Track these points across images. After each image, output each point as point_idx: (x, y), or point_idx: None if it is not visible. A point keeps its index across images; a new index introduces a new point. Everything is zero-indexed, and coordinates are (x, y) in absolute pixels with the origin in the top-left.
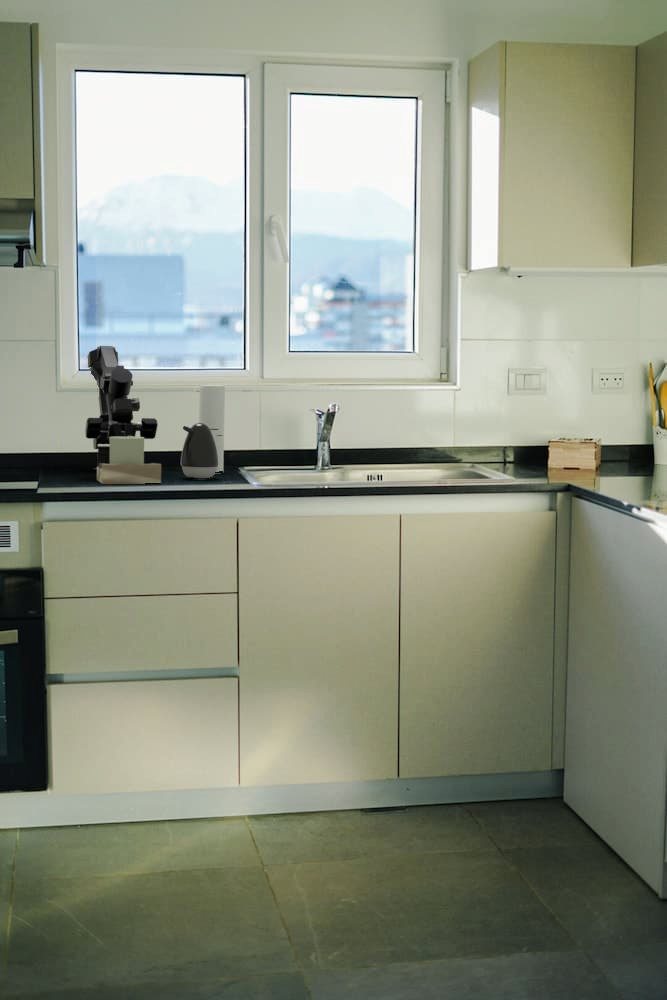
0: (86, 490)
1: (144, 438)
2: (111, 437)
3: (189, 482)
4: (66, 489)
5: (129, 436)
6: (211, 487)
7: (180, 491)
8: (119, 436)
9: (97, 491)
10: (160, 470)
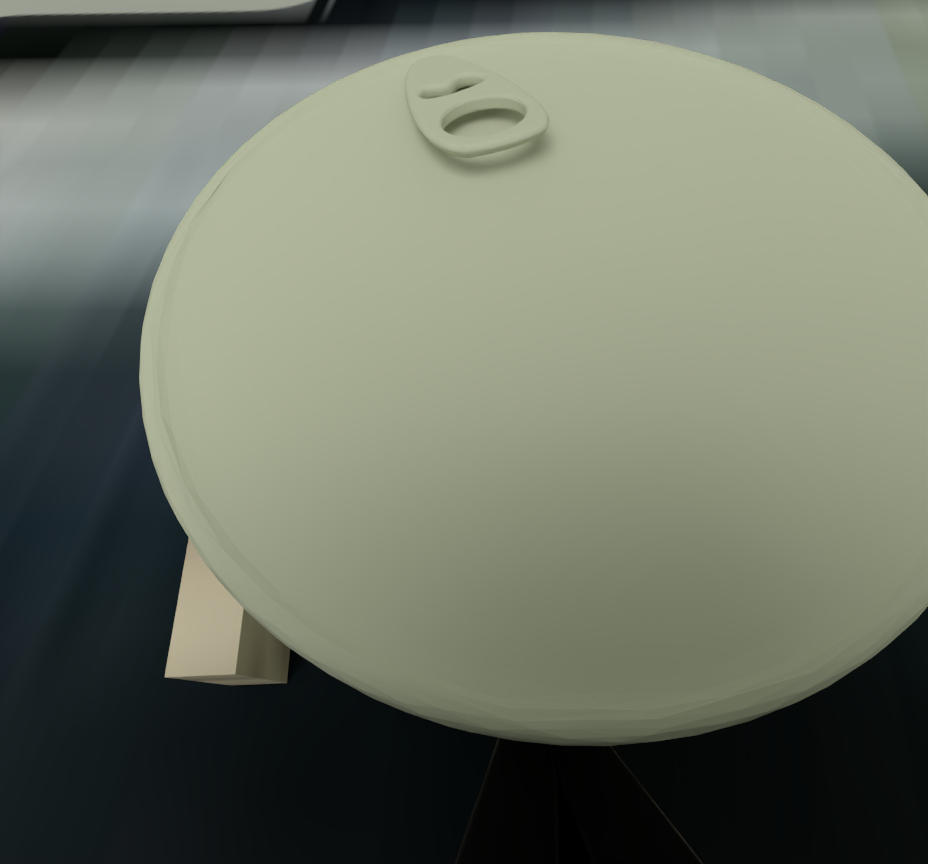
0: (771, 47)
1: (179, 239)
2: (924, 270)
3: (13, 445)
4: (892, 79)
5: (509, 136)
6: (43, 164)
7: (293, 24)
8: (771, 664)
9: (708, 18)
10: None
